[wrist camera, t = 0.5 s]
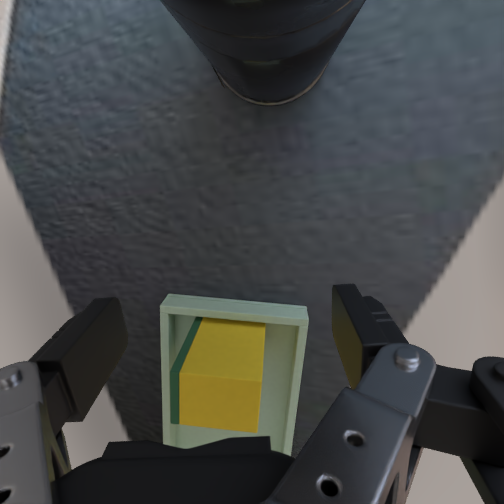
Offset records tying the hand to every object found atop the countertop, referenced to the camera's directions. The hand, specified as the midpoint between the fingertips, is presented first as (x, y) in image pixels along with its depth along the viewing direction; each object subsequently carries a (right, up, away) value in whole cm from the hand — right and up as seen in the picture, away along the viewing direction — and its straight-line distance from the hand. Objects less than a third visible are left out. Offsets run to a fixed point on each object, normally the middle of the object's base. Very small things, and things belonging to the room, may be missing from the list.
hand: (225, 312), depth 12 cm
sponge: (-1, -6, +20) cm, 21 cm away
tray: (-1, -13, +23) cm, 26 cm away
